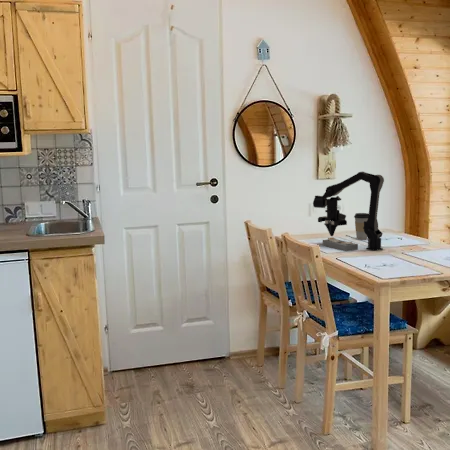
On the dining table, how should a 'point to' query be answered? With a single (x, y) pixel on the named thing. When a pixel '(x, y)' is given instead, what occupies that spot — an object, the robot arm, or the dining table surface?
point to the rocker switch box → (340, 245)
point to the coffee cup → (360, 225)
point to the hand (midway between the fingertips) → (331, 236)
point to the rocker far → (333, 240)
